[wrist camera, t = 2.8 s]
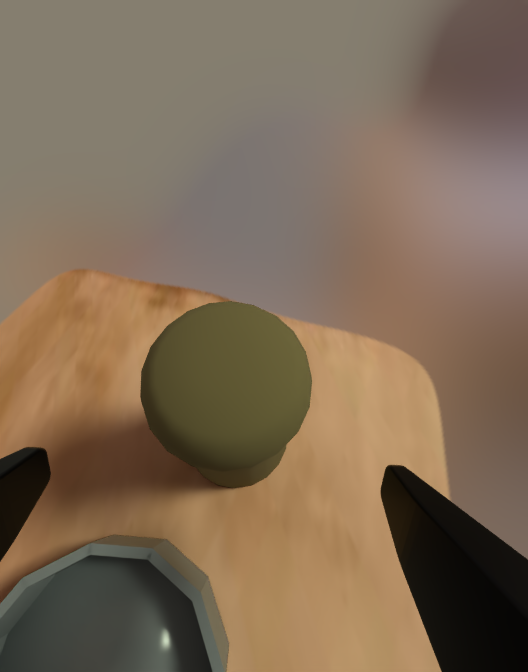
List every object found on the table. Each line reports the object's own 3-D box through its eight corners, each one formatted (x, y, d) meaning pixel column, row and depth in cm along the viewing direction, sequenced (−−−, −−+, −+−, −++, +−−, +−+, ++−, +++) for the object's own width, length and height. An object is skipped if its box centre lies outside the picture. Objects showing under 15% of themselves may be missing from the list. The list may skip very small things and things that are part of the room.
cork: (163, 441, 17) (52, 380, 7) (230, 364, 19) (213, 241, 10) (245, 513, 16) (243, 557, 6) (307, 420, 18) (377, 342, 8)
